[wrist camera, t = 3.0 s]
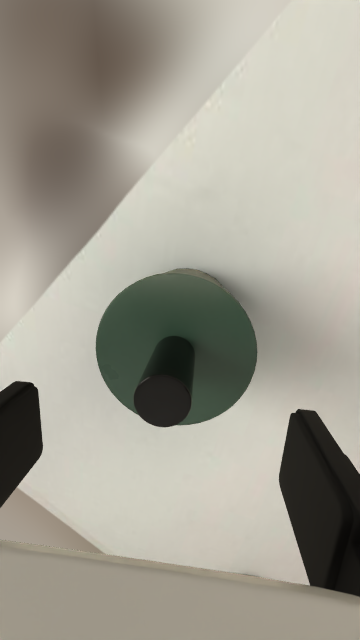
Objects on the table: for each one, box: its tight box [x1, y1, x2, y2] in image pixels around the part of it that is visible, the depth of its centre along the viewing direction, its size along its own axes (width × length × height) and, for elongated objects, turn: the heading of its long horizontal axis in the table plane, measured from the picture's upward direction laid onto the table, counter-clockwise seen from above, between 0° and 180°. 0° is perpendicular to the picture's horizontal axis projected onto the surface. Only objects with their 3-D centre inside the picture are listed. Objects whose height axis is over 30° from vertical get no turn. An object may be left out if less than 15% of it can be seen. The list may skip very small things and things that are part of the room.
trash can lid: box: [96, 273, 257, 427], centre depth 15 cm, size 10×10×7 cm
